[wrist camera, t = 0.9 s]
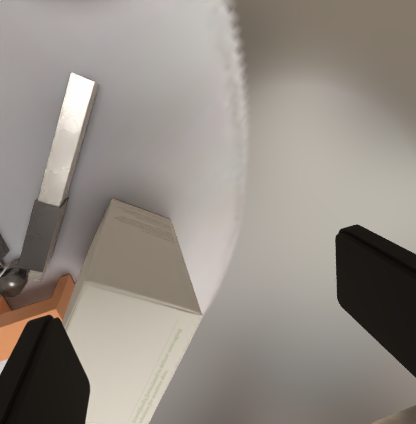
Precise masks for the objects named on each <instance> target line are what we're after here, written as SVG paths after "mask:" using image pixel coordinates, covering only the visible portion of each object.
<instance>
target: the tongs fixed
mask: <svg viewBox="0 0 416 424" xmlns="http://www.w3.org/2000/svg"><path fill="white" fill-rule="evenodd" d="M8 252H9V250H8V248H7V246H6V244H5V243H4V241H3V239H2V237H1V236H0V273H1V272H2V271H3V270H4V269H5V268H4V266H3V265H2V263H1V260H2V259H3V258H4V257H5V255H6V254H7V253H8ZM19 260H20V259H17V260H15V261H13V262H12V264H11V265H10V266H9V267H8V269H7V270H6V271H5V272H4V274H3V275H2V276H1V277H0V295H2V296H4V297H15V296H17V295H19V294H20V293H21V292H22V290H23V288H24V287H25V285H26V284H27V282H28V276H29V273H30V270H27V269H22V268H18V264H19Z"/></svg>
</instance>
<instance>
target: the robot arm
mask: <svg viewBox="0 0 416 424" xmlns="http://www.w3.org/2000/svg"><path fill="white" fill-rule="evenodd" d="M335 242H336V275H337V299H338V301H339V304H340V305H341V307H342V308H343V309H345V311H347V312H348V313H349V314H350V315H351V316H352V317H353V318H354V319H355V320H356V321H357V322H358V323H359V324H360V325H361V326H362V327H363V328H364V329H366V331H368V333H370V334H371V335H372V336H373V337H374V338H375V339H376V340H377V341H378V342H379V343H380V344H381V345H382V346H383V347H384V348H385V349H386V350H387V351H388V352H389V353H391V354H392V355H393V356H394V357H395V358H396V359H397V360H398V361H399V362H400V363H401V364H402V365H403V366H404V367H405V368H406V369H407V370H408V371H409V372H410V373H411V374H413V375H414V376H415V377H416V254H414V253H412V252H410V251H408V250H406V249H404V248H402V247H400V246H399V245H397V244H395V243H393V242H391V241H389V240H387V239H385V238H383V237H381V236H379V235H377V234H375V233H373V232H371V231H369V230H368V229H366V228H364V227H362V226H360V225H353V226H349V227H346V228H343V229H341V230H340V231H339V234H337V235H336V240H335ZM89 396H90V383H89V379H88V377H87V375H86V373H85V371H84V369H83V366H82V364H81V362H80V360H79V358H78V356H77V354H76V352H75V349H74V347H73V345H72V343H71V341H70V339H69V337H68V335H67V332H66V330H65V328H64V326H63V324H62V322H61V320H60V319H59V318H58V317H56V318H53V316H52V315H46V316H43V317H39V318H36V319H32V320H30V321H28V322H27V324H26V325H25V327H24V329H23V331H22V333H21V335H20V337H19V339H18V341H17V343H16V345H15V347H14V349H13V351H12V353H11V355H10V357H9V359H8V361H7V363H6V365H5V367H4V369H3V371H2V373H1V374H0V424H85V421H86V415H87V409H88V403H89ZM371 424H416V405H415V406H413V407H410V408H408V409H406V410H403V411H400V412H398V413H396V414H393V415H391V416H388V417H386V418H383V419H381V420H378V421H376V422H373V423H371Z"/></svg>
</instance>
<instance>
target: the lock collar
mask: <svg viewBox="0 0 416 424" xmlns="http://www.w3.org/2000/svg"><path fill="white" fill-rule="evenodd" d="M74 287H75V284H74V282H73V280H72V278H71V276H70V274H69V275H66V276H62V277H60V279H59V281H58V283H57V286H56V288H55V290H54V292H53V295H52V297H51V298H49V299H46V300H43V301H40V302H37V303H34V304H31V305H28V306H25V307H22V308H19V309H16V310H13V311H11V309H10V307H9V306H8V304H7V303H6V301H5V299H4V298H3V296H1V297H0V361H3V360H6V359H9V357H10V355H11V353H12V351H13V349H14V347H15V345H16V343H17V341H18V339H19V337H20V335H21V333H22V331H23V329H24V327H25V325H26V324H27V322H28V321H30V320H32V319H36V318H39V317H43V316H46V315H52V316H53V318H56V317H58V318H59V319H60V320H61V322H62V321H63V318H64V316H65V313H66V310H67V307H68V304H69V301H70V298H71V295H72V293H73V290H74Z"/></svg>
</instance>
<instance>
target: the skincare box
mask: <svg viewBox="0 0 416 424" xmlns="http://www.w3.org/2000/svg"><path fill="white" fill-rule="evenodd" d="M202 317H203V314H202V313H201V310H200V307H199V304H198V301H197V298H196V295H195V292H194V289H193V286H192V283H191V280H190V277H189V274H188V270H187V267H186V264H185V261H184V258H183V255H182V252H181V249H180V246H179V243H178V239H177V236H176V233H175V230H174V227H173V224H172V221H171V220H170V219H167V218H165V217H162V216H159V215H156V214H154V213H151V212H148V211H145V210H143V209H140V208H137V207H134V206H132V205H129V204H126V203H123V202H121V201H118V200H115V199H111V201H110V203H109V205H108V207H107V209H106V212H105V214H104V216H103V218H102V220H101V223H100V225H99V227H98V229H97V232H96V234H95V236H94V238H93V241H92V243H91V246H90V248H89V251H88V253H87V256H86V258H85V261H84V263H83V266H82V269H81V271H80V274H79V276H78V279H77V282H76V284H75V287H74V290H73V293H72V295H71V298H70V301H69V304H68V307H67V310H66V313H65V316H64V318H63V321H62V324H63V326H64V328H65V330H66V332H67V335H68V337H69V339H70V341H71V343H72V345H73V347H74V349H75V352H76V354H77V356H78V358H79V360H80V362H81V364H82V366H83V369H84V371H85V373H86V375H87V377H88V379H89V383H90V396H89V403H88V409H87V415H86V421H85V423H91V424H149V422H150V420H151V417H152V416H153V414H154V411H155V410H156V408H157V406H158V404H159V402H160V400H161V398H162V396H163V394H164V392H165V390H166V388H167V386H168V384H169V382H170V380H171V378H172V376H173V374H174V372H175V370H176V369H177V367H178V365H179V363H180V361H181V359H182V357H183V355H184V353H185V351H186V349H187V347H188V345H189V343H190V341H191V339H192V337H193V335H194V333H195V331H196V329H197V327H198V325H199V323H200V321H201V319H202Z"/></svg>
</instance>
